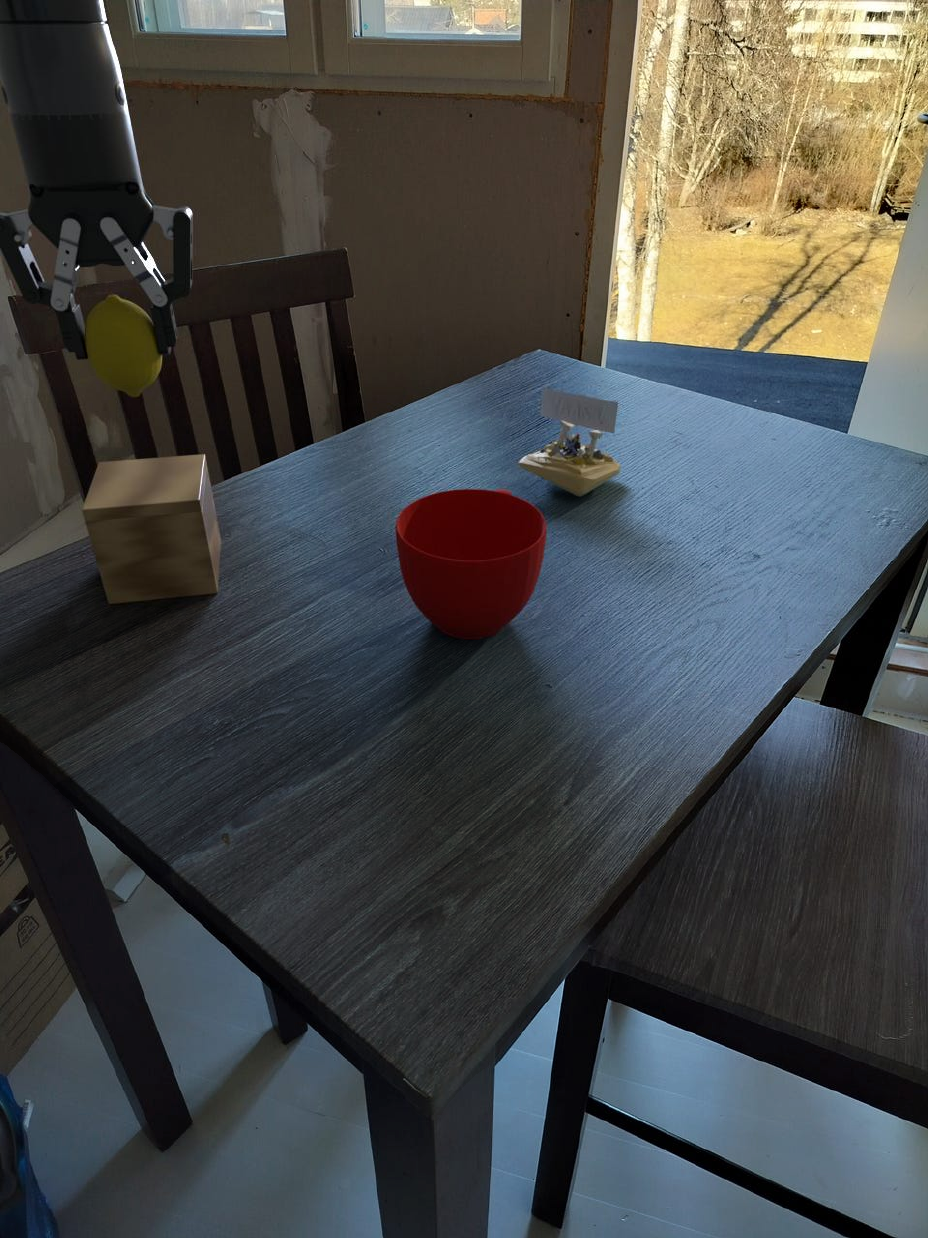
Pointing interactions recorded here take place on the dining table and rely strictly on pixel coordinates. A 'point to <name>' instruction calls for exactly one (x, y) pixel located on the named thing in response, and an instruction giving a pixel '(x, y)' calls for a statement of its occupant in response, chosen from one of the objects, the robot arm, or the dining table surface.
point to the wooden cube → (154, 528)
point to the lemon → (122, 345)
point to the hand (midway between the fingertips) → (124, 353)
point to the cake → (575, 443)
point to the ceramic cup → (470, 558)
